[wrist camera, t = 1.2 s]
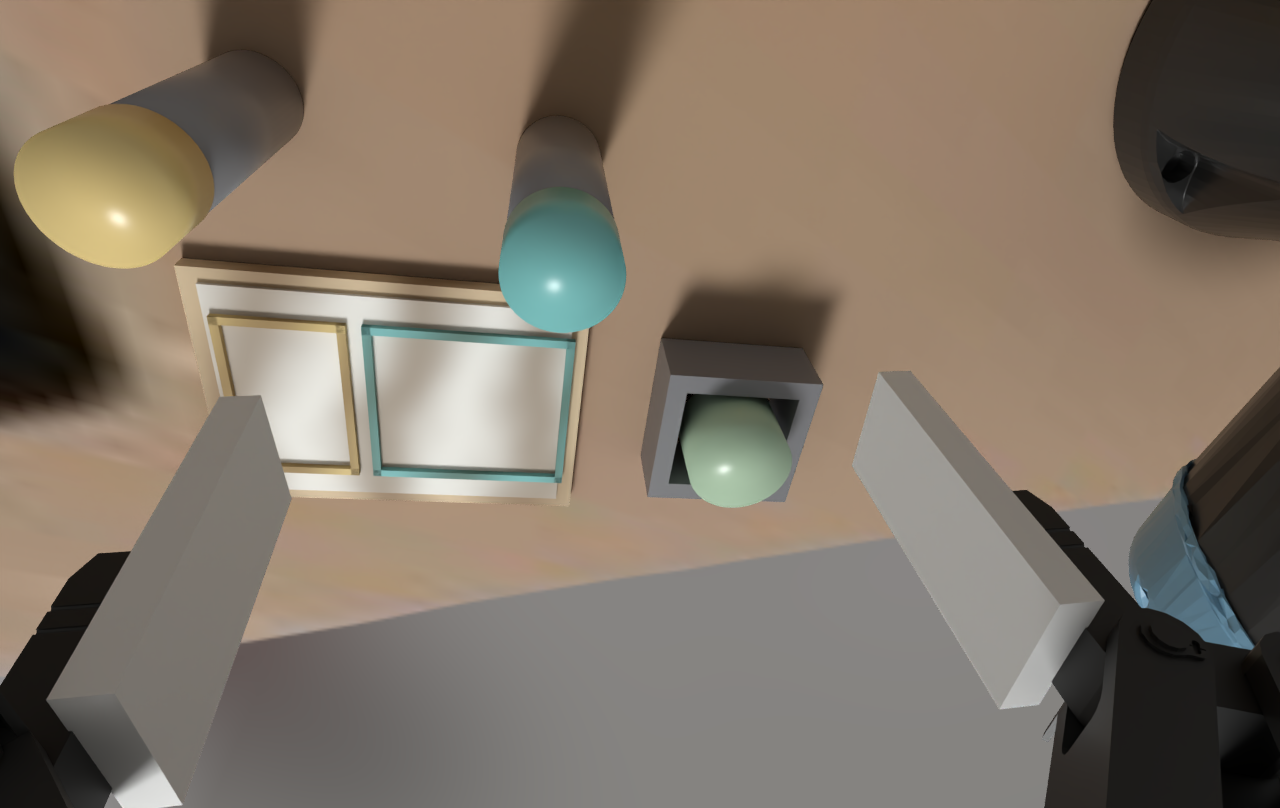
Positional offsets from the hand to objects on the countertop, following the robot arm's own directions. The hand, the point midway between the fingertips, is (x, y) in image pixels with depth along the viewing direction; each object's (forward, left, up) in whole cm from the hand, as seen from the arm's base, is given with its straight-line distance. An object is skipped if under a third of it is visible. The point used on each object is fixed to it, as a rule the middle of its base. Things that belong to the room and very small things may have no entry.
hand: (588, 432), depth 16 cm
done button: (-9, +11, -17) cm, 22 cm away
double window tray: (+8, +12, -19) cm, 23 cm away
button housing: (-9, +11, -19) cm, 24 cm away
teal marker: (+1, -1, -19) cm, 19 cm away
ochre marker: (+13, -2, -19) cm, 23 cm away
